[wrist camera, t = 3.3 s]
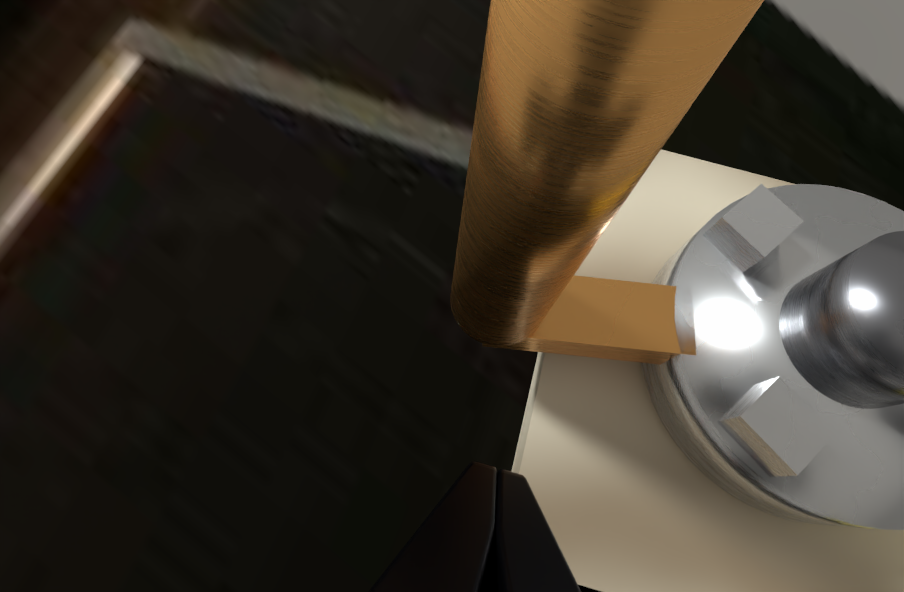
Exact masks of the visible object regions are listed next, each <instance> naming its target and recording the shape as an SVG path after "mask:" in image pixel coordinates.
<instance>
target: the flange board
mask: <svg viewBox="0 0 904 592" xmlns="http://www.w3.org/2000/svg"><path fill="white" fill-rule="evenodd" d="M760 184H763V185H764V186H765V187H766V188H767V189H768V188H773V187H778V186H783V185H796V184H792V183H789V182H785V181H781V180H777V179H773V178H769V177H765V176H761V175H758V174H754V173H750V172H746V171H742V170H738V169H734V168H730V167H727V166H723V165H719V164H715V163H711V162H707V161H703V160H699V159H696V158H692V157H688V156H684V155H680V154H676V153H672V152H668V151H665V150H660V151H659V153H658V154H657V156H656V157H655V159H654V160H653V162H652V163H651V164H650V166H649V167H648V169H647V170H646V172H645V173H644V175H643V176H642V177H641V179H640V180H639V182H638V183H637V185H636V186H635V188H634V189H633V190H632V192H631V193H630V195H629V196H628V198H627V199H626V201H625V202H624V203H623V205H622V206H621V208H620V209H619V211H618V212H617V214H616V215H615V216H614V218H613V219H612V221H611V222H610V224H609V225H608V227H607V228H606V229H605V231H604V232H603V234H602V235H601V237H600V238H599V240H598V241H597V243H596V244H595V245H594V247H593V248H592V250H591V251H590V253H589V254H588V256H587V257H586V258H585V260H584V261H583V263H582V264H581V266H580V267H579V269H578V270H577V271H576V273H575V274H574V275H576V276H585V277H594V278H604V279H613V280H622V281H632V282H641V283H650V284H652V283H653V281H654V279H655V277H656V275H657V274H658V272H659V271H660V270H661V268H662V267H663V266H664V264H665V263H666V262H667V261H668V260H669V259H670V258H671V257H672V256H673V255H674V254H675V253H676V252H677V251H678V250H679V249H680V248H681V247H682V246H683V245H684V244H685V243H686V242H687V241H688V240H689V239H690V238H691V237H693V236H694V235H695V234H696V233H697V232H698V231H699V230H700V229H701V228H702V227H703V226H704V225H705V224H706V223H707V222H708V221H709V220H710V219H711V218H712V217H714V216H715V215H716V214H717V213H718V212H720V211H721V210H722V209H724V208H725V207H727V206H728V205H729V204H731V203H733V202H735V201H736V200H738V199H740V198H742V197H744V196H746V195H749V194H750V193H751V192H752V191H753V190H754V189H756V188H757V187H758V186H759V185H760ZM512 472H514V473H518V474H521V475H523V476H524V477H525V478H526V479H527V481H528V483H529V486H530V488H531V490H532V492H533V494H534V496H535V498H536V500H537V502H538V504H539V506H540V508H541V510H542V512H543V514H544V516H545V518H546V520H547V522H548V525H549V527H550V529H551V531H552V533H553V535H554V537H555V539H556V541H557V543H558V545H559V547H560V549H561V551H562V553H563V555H564V557H565V559H566V562H567V564H568V566H569V568H570V570H571V572H572V574H573V576H574V578H575V580H576V582H577V584H578V585H582V586H585V587H588V588H592V589H595V590H598V591H602V592H904V530H884V529H871V528H858V527H846V526H834V525H821V524H809V523H804V522H798V521H792V520H787V519H784V518H781V517H777V516H774V515H771V514H768V513H765V512H763V511H761V510H759V509H756V508H754V507H752V506H750V505H748V504H745V503H744V502H742V501H740V500H739V499H737V498H735V497H734V496H732V495H730V494H729V493H727V492H726V491H724V490H723V489H722V488H720V487H719V486H718V485H716V484H715V483H714V482H713V481H711V480H710V479H709V478H707V477H706V476H705V475H704V474H703V473H702V472H701V471H700V470H699V469H698V468H697V467H696V466H695V465H694V464H693V463H692V462H691V461H690V460H689V459H688V458H687V457H686V455H685V454H684V453H683V452H682V451H681V449H680V448H679V447H678V446H677V445H676V443H675V442H674V440H673V439H672V437H671V436H670V434H669V433H668V431H667V430H666V428H665V427H664V425H663V424H662V422H661V420H660V418H659V416H658V414H657V412H656V410H655V408H654V406H653V404H652V401H651V398H650V395H649V393H648V390H647V387H646V384H645V380H644V376H643V371H642V367H641V363H640V362H630V361H621V360H611V359H602V358H592V357H583V356H573V355H564V354H554V353H545V352H538V356H537V360H536V365H535V369H534V373H533V378H532V382H531V387H530V391H529V396H528V400H527V405H526V409H525V414H524V418H523V423H522V427H521V431H520V436H519V440H518V445H517V449H516V454H515V458H514V463H513V467H512Z"/></svg>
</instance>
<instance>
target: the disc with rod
mask: <svg viewBox="0 0 904 592" xmlns="http://www.w3.org/2000/svg"><path fill="white" fill-rule="evenodd" d="M763 1H764V0H491V3H490V10H489V18H488V25H487V32H486V40H485V47H484V54H483V62H482V69H481V76H480V84H479V91H478V98H477V106H476V113H475V120H474V128H473V135H472V142H471V150H470V157H469V164H468V172H467V179H466V186H465V194H464V201H463V208H462V216H461V223H460V230H459V238H458V245H457V252H456V260H455V267H454V274H453V282H452V289H451V300H450V301H451V308H452V312H453V315H454V318H455V320H456V321H457V323H458V325H459V326H460V327H461V329H462V330H463V331H464V332H465V333H466V334H468V335H469V336H470V337H472V338H473V339H475V340H476V341H479V342H481V343H483V346H488V347H497V348H507V349H516V350H526V351H535V352H545V353H554V354H564V355H573V356H583V357H592V358H602V359H611V360H621V361H630V362H640V363H641V367H642V371H643V376H644V380H645V384H646V387H647V390H648V393H649V395H650V398H651V401H652V404H653V406H654V408H655V410H656V412H657V414H658V416H659V418H660V420H661V422H662V424H663V425H664V427H665V428H666V430H667V431H668V433H669V434H670V436H671V437H672V439H673V440H674V442H675V443H676V445H677V446H678V447H679V448H680V449H681V451H682V452H683V453H684V454H685V455H686V457H687V458H688V459H689V460H690V461H691V462H692V463H693V464H694V465H695V466H696V467H697V468H698V469H699V470H700V471H701V472H702V473H703V474H704V475H705V476H706V477H707V478H709V479H710V480H711V481H713V482H714V483H715V484H716V485H718V486H719V487H720V488H722V489H723V490H724V491H726V492H727V493H729V494H730V495H732V496H734V497H735V498H737V499H739V500H740V501H742V502H744V503H745V504H748V505H750V506H752V507H754V508H756V509H759V510H761V511H763V512H765V513H768V514H771V515H774V516H777V517H781V518H784V519H787V520H792V521H798V522H804V523H809V524H821V525H834V526H846V527H858V528H871V529H884V530H904V211H902V210H900V209H898V208H896V207H894V206H892V205H890V204H888V203H886V202H883V201H881V200H878V199H876V198H873V197H870V196H868V195H865V194H862V193H858V192H854V191H851V190H847V189H843V188H837V187H831V186H825V185H811V184H797V185H783V186H778V187H773V188H768V189H767V188H766V187H765V186H764V185H763V184H760V185H759V186H758V187H757V188H756V189H754V190H753V191H752V192H751V193H750V194H749V195H746V196H744V197H742V198H740V199H738V200H736V201H735V202H733V203H731V204H729V205H728V206H727V207H725V208H724V209H722V210H721V211H720V212H718V213H717V214H716V215H715V216H714V217H712V218H711V219H710V220H709V221H708V222H707V223H706V224H705V225H704V226H703V227H702V228H701V229H700V230H699V231H698V232H697V233H696V234H695V235H694V236H693V237H691V238H690V239H689V240H688V241H687V242H686V243H685V244H684V245H683V246H682V247H681V248H680V249H679V250H678V251H677V252H676V253H675V254H674V255H673V256H672V257H671V258H670V259H669V260H668V261H667V262H666V263H665V264H664V266H663V267H662V268H661V270H660V271H659V272H658V274H657V275H656V277H655V279H654V281H653V283H652V284H650V283H641V282H632V281H622V280H613V279H604V278H594V277H585V276H576V275H574V274H575V273H576V271H577V270H578V269H579V267H580V266H581V264H582V263H583V261H584V260H585V258H586V257H587V256H588V254H589V253H590V251H591V250H592V248H593V247H594V245H595V244H596V243H597V241H598V240H599V238H600V237H601V235H602V234H603V232H604V231H605V229H606V228H607V227H608V225H609V224H610V222H611V221H612V219H613V218H614V216H615V215H616V214H617V212H618V211H619V209H620V208H621V206H622V205H623V203H624V202H625V201H626V199H627V198H628V196H629V195H630V193H631V192H632V190H633V189H634V188H635V186H636V185H637V183H638V182H639V180H640V179H641V177H642V176H643V175H644V173H645V172H646V170H647V169H648V167H649V166H650V164H651V163H652V162H653V160H654V159H655V157H656V156H657V154H658V153H659V151H660V150H661V148H662V147H663V146H664V144H665V143H666V141H667V140H668V138H669V137H670V135H671V134H672V133H673V131H674V130H675V128H676V127H677V125H678V124H679V122H680V121H681V120H682V118H683V117H684V115H685V114H686V112H687V111H688V109H689V108H690V107H691V105H692V104H693V102H694V101H695V99H696V98H697V96H698V95H699V94H700V92H701V91H702V89H703V88H704V86H705V85H706V83H707V82H708V81H709V79H710V78H711V76H712V75H713V73H714V72H715V70H716V69H717V67H718V66H719V65H720V63H721V62H722V60H723V59H724V57H725V56H726V54H727V53H728V52H729V50H730V49H731V47H732V46H733V44H734V43H735V41H736V40H737V39H738V37H739V36H740V34H741V33H742V31H743V30H744V28H745V27H746V26H747V24H748V23H749V21H750V20H751V18H752V17H753V15H754V14H755V13H756V11H757V10H758V8H759V7H760V5H761V4H762V2H763Z"/></svg>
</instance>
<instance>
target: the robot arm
mask: <svg viewBox="0 0 904 592" xmlns="http://www.w3.org/2000/svg"><path fill="white" fill-rule="evenodd" d="M369 592H581V590H580V588H579V586H578V584H577V582H576V580H575V578H574V576H573V574H572V572H571V570H570V568H569V566H568V564H567V562H566V559H565V557H564V555H563V553H562V551H561V549H560V547H559V545H558V543H557V541H556V539H555V537H554V535H553V533H552V531H551V529H550V527H549V525H548V522H547V520H546V518H545V516H544V514H543V512H542V510H541V508H540V506H539V504H538V502H537V500H536V498H535V496H534V494H533V492H532V490H531V488H530V486H529V483H528V481H527V479H526V478H525V477H524V476H523V475H521V474H518V473H514V472H511V471H507V470H504V469H500V470H499V471H498V472H497V470H496V468H495V467H493V466H490V465H486V464H483V463H479V462H475V461H474V462H471V463H470V464H469V465H468V466H467V467H466V469H465V470H464V471H463V472H462V474H461V475H460V476H459V478H458V479H457V480H456V481H455V483H454V484H453V485H452V486H451V488H450V489H449V490H448V492H447V493H446V494H445V495H444V497H443V498H442V499H441V500H440V502H439V503H438V504H437V505H436V507H435V508H434V509H433V511H432V512H431V513H430V514H429V516H428V517H427V518H426V519H425V521H424V522H423V523H422V525H421V526H420V527H419V528H418V530H417V531H416V532H415V533H414V535H413V536H412V537H411V538H410V540H409V541H408V542H407V544H406V545H405V546H404V547H403V549H402V550H401V551H400V552H399V554H398V555H397V556H396V558H395V559H394V560H393V561H392V563H391V564H390V565H389V566H388V568H387V569H386V570H385V572H384V573H383V574H382V575H381V577H380V578H379V579H378V580H377V582H376V583H375V584H374V585H373V587H372V588H371V589H370V591H369Z"/></svg>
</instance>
